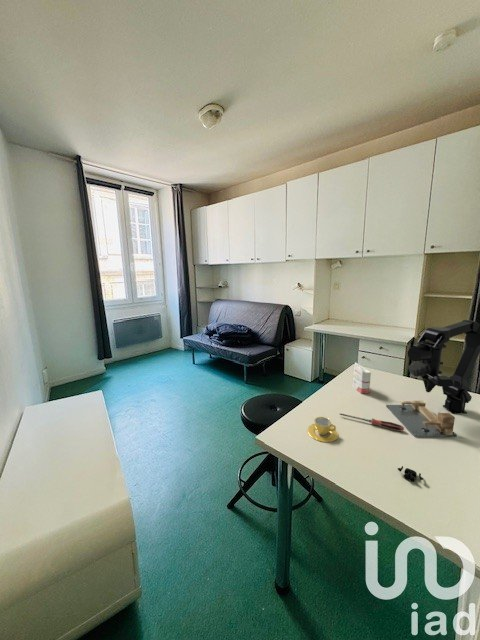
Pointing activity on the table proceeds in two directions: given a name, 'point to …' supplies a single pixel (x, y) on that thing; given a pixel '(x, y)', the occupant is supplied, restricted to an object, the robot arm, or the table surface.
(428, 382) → the robot arm
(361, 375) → the ink cartridge box
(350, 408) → the table surface
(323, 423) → the cup
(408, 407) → the steel plate
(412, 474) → the wireless earbuds
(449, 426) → the slider leg
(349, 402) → the table surface
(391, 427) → the screwdriver
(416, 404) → the compass bar
